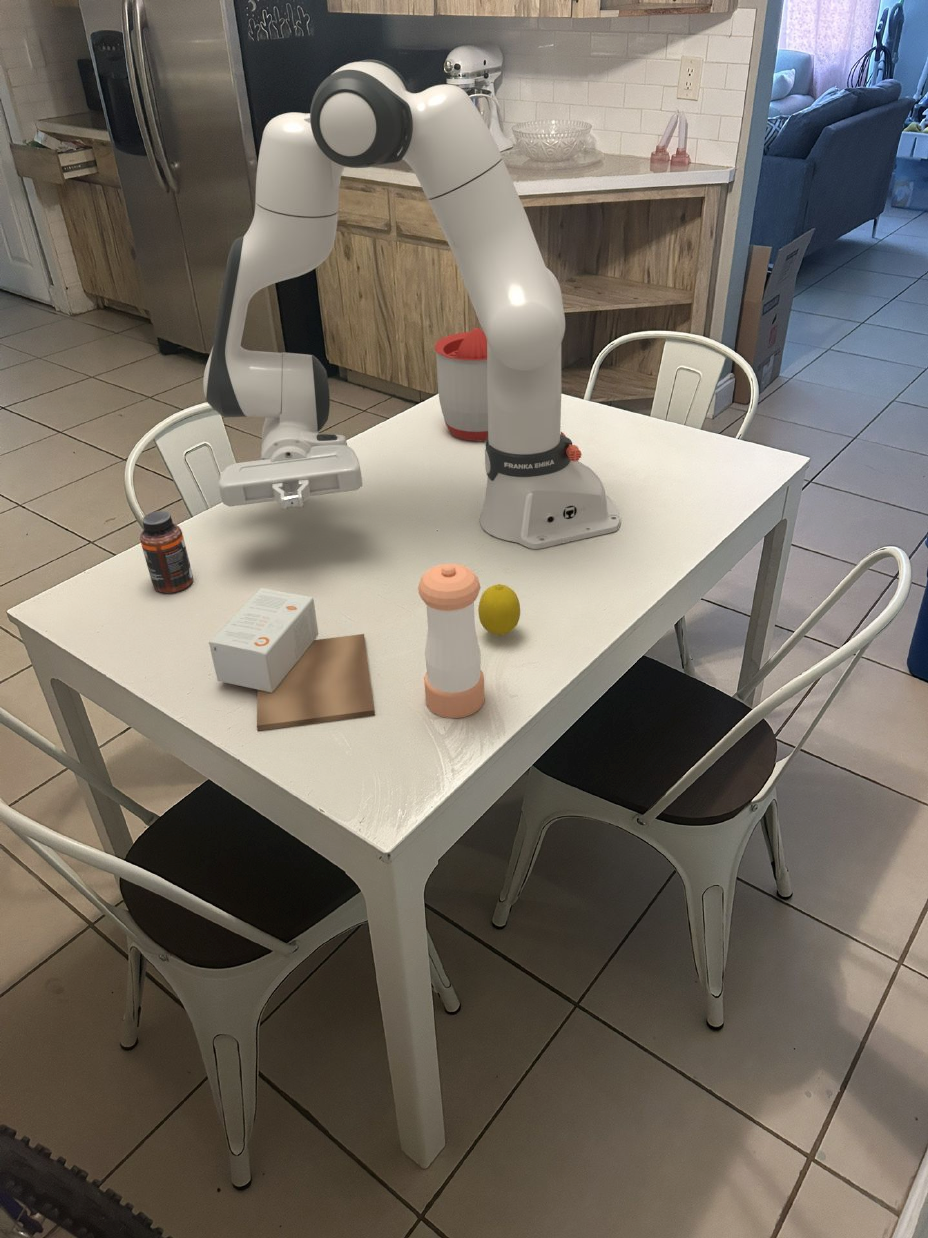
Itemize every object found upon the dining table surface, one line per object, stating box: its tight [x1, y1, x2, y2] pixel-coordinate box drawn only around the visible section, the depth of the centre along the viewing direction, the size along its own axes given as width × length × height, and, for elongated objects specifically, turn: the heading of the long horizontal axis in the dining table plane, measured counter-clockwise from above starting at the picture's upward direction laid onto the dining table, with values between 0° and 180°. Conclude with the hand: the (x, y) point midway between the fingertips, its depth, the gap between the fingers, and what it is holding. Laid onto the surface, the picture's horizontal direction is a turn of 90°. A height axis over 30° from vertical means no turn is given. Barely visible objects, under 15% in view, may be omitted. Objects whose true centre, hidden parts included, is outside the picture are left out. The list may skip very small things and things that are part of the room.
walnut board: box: [256, 633, 376, 732], centre depth 117 cm, size 14×16×1 cm
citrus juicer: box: [434, 327, 488, 442], centre depth 174 cm, size 16×17×20 cm
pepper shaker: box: [417, 563, 486, 719], centre depth 108 cm, size 7×7×19 cm
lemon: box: [477, 584, 521, 637], centre depth 122 cm, size 6×6×8 cm
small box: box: [208, 587, 319, 693], centre depth 119 cm, size 8×6×13 cm
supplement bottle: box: [139, 510, 194, 594], centre depth 134 cm, size 6×6×11 cm
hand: (292, 503), depth 127 cm, fingers closed
